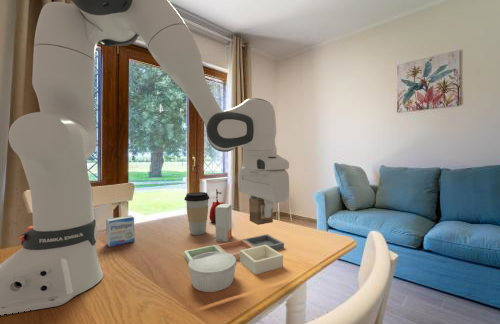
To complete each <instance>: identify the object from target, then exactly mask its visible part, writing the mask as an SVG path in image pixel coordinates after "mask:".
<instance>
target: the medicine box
mask: <svg viewBox="0 0 500 324" xmlns="http://www.w3.org/2000/svg"><path fill="white" fill-rule="evenodd" d="M105 230H106V232H105V233H106V245H107V246H108V247H109V248H113V247H112V246H114V247H117V246H116V245H118V246H121V244H122V245H125V243H126V244H129V242H130V243H133V242H135V217H133V215H125V216H119V217H112V218H106V219H105Z"/></svg>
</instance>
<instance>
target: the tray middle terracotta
mask: <svg viewBox="0 0 500 324" xmlns="http://www.w3.org/2000/svg"><path fill="white" fill-rule="evenodd" d="M243 239H244V238H242V239H241V238H240V239H236V240H231V241H225V242H222V243H216V244H215V245H216V246H217V247H218V248H219V249H221V250H222V251H223V252H225V253H229V254H231V255H233V256H234V257H235V258H236V261H237V260H240V250H244V249H249V248H253V247H254V246H252V245H251V244H249V243H248V242H246V241H245V240H243Z"/></svg>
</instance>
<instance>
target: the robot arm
mask: <svg viewBox="0 0 500 324" xmlns="http://www.w3.org/2000/svg"><path fill="white" fill-rule="evenodd" d="M71 1H72V3H71V2H70V3H67V2H62V1H50V2H47V3H45V4H44V5H43V6H42V8H41V10H40V13H39V17H38V19H37V23H36V28H35V34H34V39H33V40H34V41H33V42H34V44H33V56H32V58H33V59H32V60H33V61H32V74H31V75H32V77H31V83H32V88H33V90H34V92H35V95H36V97H37V101H38V107H39V111H37V112H31V113H27V114H24V115H21V116H19V117H18V118H17V119H15V120H14V121H13V123H11V126H10V127H9V130H8V136H7V138H8V142H9V145H10V147H11V149H12V150H13V152H14V153H15V154H16V155H17V156H18V157H19V160H20V162H21V164H22V168H23V170H24V174H25V177H26V180H27V183H28V187H29V192H30V197H31V211H32V214H31V215H32V225H30V226H28V227H27V228H25V229H24V231H23V233H22V234H21V235H20V237H19V244H21V246H22V247H21V248H20V249H18V250H17V251H15V252H14V253H13V254H12V255H10V256H8V257H7V258H6V259H5V260H4V261H3V262H1V263H0V315H1V316H5V315H4V314H7V315H13V314H19V313H24V311H25V312H29V311H30V310H31V311H35V310H41V309H46V308H53V307H59V306H62V305H64V304H65V303H67V302H69V301H70V300H72V299H73V298H74V297H76V296H77V295H80V294H81V293H82V294H83V293H84V292H86V291H88V290H89V289H91V288H94V286H95V285H97V284H98V283H99V282H100V281H101V280H103V277H104V272H103V270H102V268H101V264H100V260H99V258H98V252H97V246H96V243H97V240H98V235H97V234H98V230H97V229H98V227H97V223H96V219H94V197H93V196H94V195H93V194H94V193H93V186H92V185H91V182H90V178H89V173H88V169H87V163H86V160H88V159H89V158H90V157H91V156H92V155H93V154H94V153H95V151H96V148H97V144H98V141H97V126H96V124H97V123H96V122H97V121H96V111H95V102H94V99H95V98H94V89H95V87H94V86H95V85H94V84H95V67H96V66H95V65H96V49H97V45H98V44H100V45H102V46H104V47H112V46H121V47H124V46H129V45H132V44H134V43H135V42H136V41H137V40H139V37H140V39H141V40H142V42H143V43H144V45H145V47H146V48H147V50H148V51H149V53H150V55H151V56H152V57H153V59H154V60H155V62H156V63H157V64H158V65H159V67H160V68H161V69H162V70H163V71H164V72H165V73H166V74H167V76H169V77H170V79H171V80H172V81H174V83H175V84H176V85H177V86H178V87H179V88H180V89H181V90H182V91H183V93H184V94H185V95H186V96H187V97H188V99H189V100H190V102H191V103H192V105H193V108H194V109H195V110H196V112H197V114H198V115H199V116H200V118H201V119H202V121H203V124H204V126H205V129H206V130H205V131H206V136H207V137H206V138H207V142H208V143H209V144H210V145H209V146H211V147H212V148H213V149H214V150H216V151H218V152H221V153H227V152H231V151H234V149H236V148H237V147H241V148H242V159H243V160H242V162H243V163H242V165H241V168H239V172H238V191H239V193H242V194H244V195H248V200H249V199H251V198H261V199H264V203H265V207H264V209H262V212H263V213H262V215H263V216H265V217H270V216H271V209H272V207H273V206H274V205H275V204H278V203H284V202H285V203H286V202H287V201H288V199H289V197H290V176H289V173H288V171H287V170H288V169H289V167H290V161H289V160H287V159H286V158H284V157H282V156H280V155H279V154H278V153H277V146H276V136H277V121H276V112H275V108H274V105H273V104H272V103H271V102H270V101H268V100H265V99H262V98H258V97H257V98H256V97H254V98H253V97H250V98H247V99H245V100H243V102H241V103H240V104H239V105H236V106H235V107H232V108H230V109H229V108H228V109H226V110H222V108H221V106H220V104H219V103H218V101H217V99H216V98H215V97H214V95H213V93H212V91H211V90H210V88H209V86H208V83H207V79H206V76H205V71H204V65H203V59H202V55H201V52H200V50H199V49H200V48H199V47H198V44H197V42H196V40H195V38H194V36H193V34H192V32H191V31H190V28H189V27H188V26H187V23H186V22H185V21H184V19H183V18H182V16H181V15H180V13H179V12H178V11H177V10H176V8H175V7H174V6H173V5H172V3H171V2H170V1H169V0H71ZM18 312H19V313H18ZM12 313H13V314H12Z"/></svg>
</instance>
